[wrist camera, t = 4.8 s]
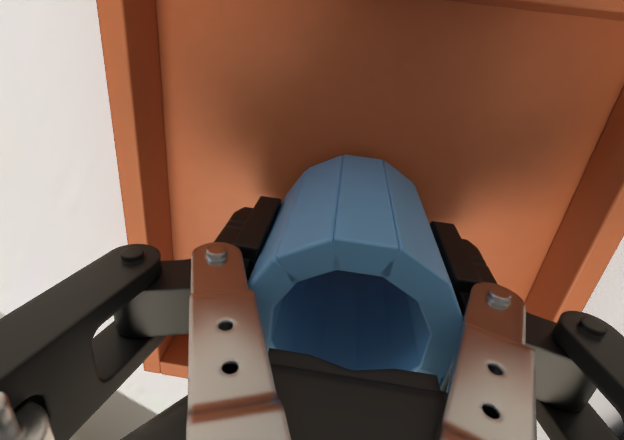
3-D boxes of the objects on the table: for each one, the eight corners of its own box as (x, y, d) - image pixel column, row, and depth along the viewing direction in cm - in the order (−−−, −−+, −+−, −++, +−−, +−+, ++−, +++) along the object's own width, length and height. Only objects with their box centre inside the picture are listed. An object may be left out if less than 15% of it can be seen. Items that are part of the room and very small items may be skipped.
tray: (167, 334, 19) (143, 371, 17) (133, -64, 12) (83, -86, 10) (496, 389, 18) (515, 435, 16) (683, -3, 11) (761, -12, 9)
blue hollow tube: (278, 269, 16) (237, 394, 10) (288, 146, 13) (241, 223, 8) (405, 289, 15) (431, 428, 10) (439, 166, 13) (496, 261, 8)
